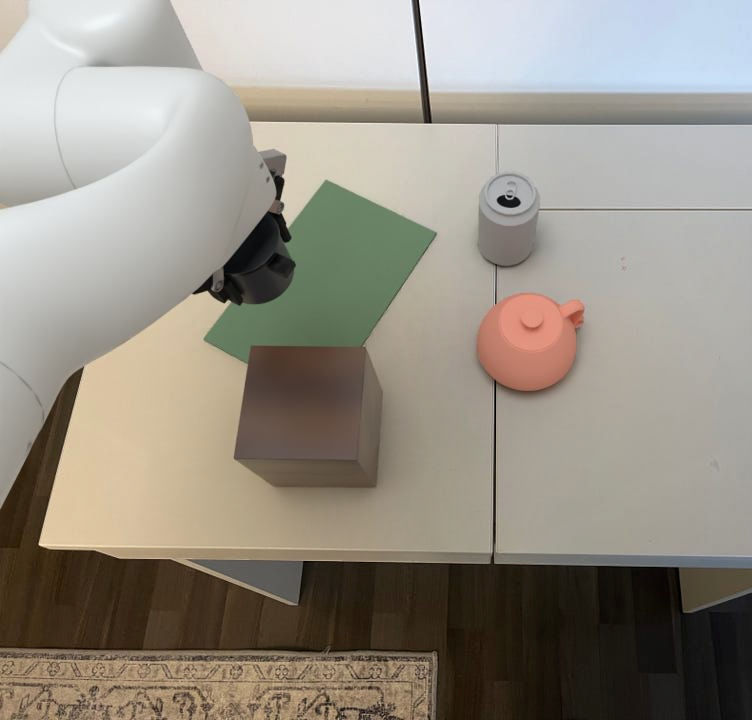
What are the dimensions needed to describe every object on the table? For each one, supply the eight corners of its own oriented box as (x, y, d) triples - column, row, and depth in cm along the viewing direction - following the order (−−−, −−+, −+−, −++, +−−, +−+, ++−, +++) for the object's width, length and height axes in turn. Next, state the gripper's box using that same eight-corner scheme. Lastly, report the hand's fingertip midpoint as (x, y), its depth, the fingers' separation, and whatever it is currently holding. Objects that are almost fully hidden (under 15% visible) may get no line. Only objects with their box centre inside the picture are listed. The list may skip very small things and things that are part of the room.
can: (473, 264, 88) (473, 212, 77) (482, 217, 91) (484, 161, 80) (528, 273, 88) (537, 222, 76) (536, 225, 90) (545, 170, 79)
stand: (376, 487, 77) (357, 460, 64) (273, 486, 77) (233, 458, 64) (382, 390, 81) (366, 346, 68) (285, 389, 81) (250, 345, 68)
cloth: (322, 405, 80) (322, 404, 80) (203, 340, 83) (202, 338, 83) (436, 234, 90) (436, 232, 89) (326, 181, 93) (325, 179, 92)
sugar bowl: (460, 330, 84) (459, 292, 75) (557, 289, 87) (568, 248, 77) (502, 412, 80) (507, 384, 71) (602, 368, 83) (619, 335, 73)
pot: (282, 326, 63) (262, 295, 57) (192, 279, 64) (163, 245, 58) (324, 266, 65) (310, 230, 59) (236, 223, 67) (213, 184, 61)
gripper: (210, 41, 50) (274, 184, 67) (53, 207, 45) (165, 319, 61) (291, 78, 49) (336, 215, 66) (140, 254, 43) (231, 355, 60)
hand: (253, 264), depth 63 cm, fingers closed on pot, 7 cm apart
